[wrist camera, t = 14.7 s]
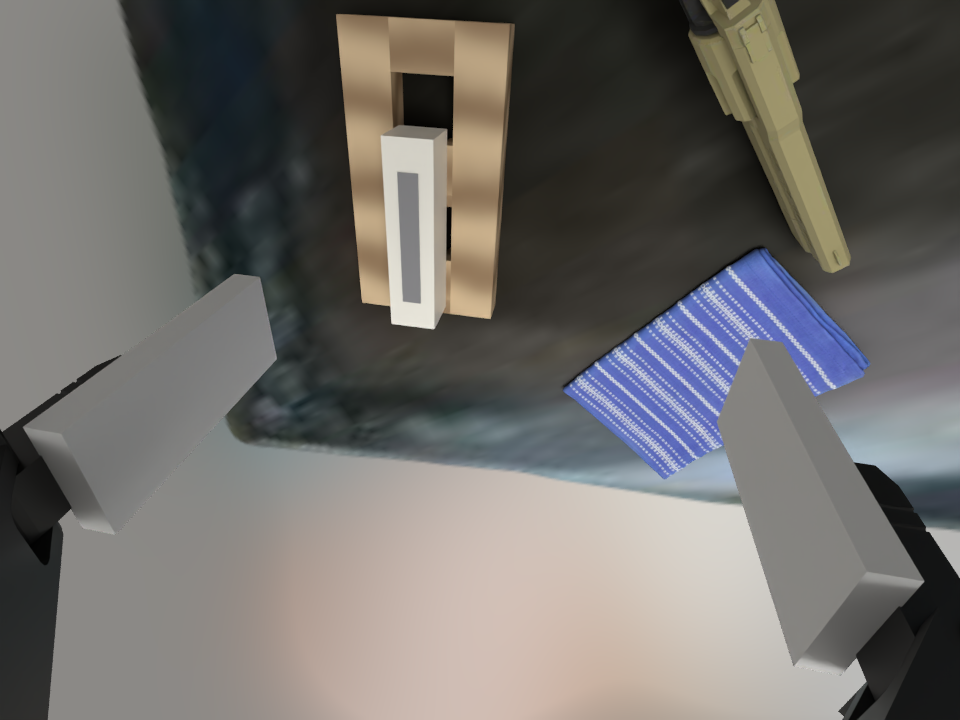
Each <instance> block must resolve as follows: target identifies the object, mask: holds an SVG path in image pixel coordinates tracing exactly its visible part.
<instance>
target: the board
mask: <svg viewBox="0 0 960 720" xmlns="http://www.w3.org/2000/svg"><path fill="white" fill-rule="evenodd" d="M336 18H337V29H338V40H339V51H340V63H341V74H342V85H343V96H344V107H345V118H346V129H347V140H348V151H349V162H350V173H351V184H352V195H353V206H354V218H355V229H356V240H357V251H358V262H359V273H360V284H361V295H362V303H370V304H378V305H386V306H391V304H390V287H389V270H388V253H387V236H386V219H385V202H384V185H383V168H382V151H381V135H382V134H384V133H386V132H388V131H389V130H391V129H393V128H395V127H396V126H398V125H404V112H403V82H402V73H416V74H430V75H444V76H454V107H453V138H450V139H448V140H447V207H452V229H451V248H449V249H448V250H447V252H446V307H445V309H444V311H443V313H448V314H456V315H464V316H472V317H480V318H488V319H491V316H492V312H493V309H494V306H495V298H496V284H497V270H498V256H499V242H500V227H501V213H502V199H503V185H504V171H505V157H506V142H507V128H508V114H509V100H510V86H511V72H512V57H513V43H514V29H515V24H508V23H491V22H474V21H457V20H440V19H423V18H406V17H389V16H372V15H355V14H336Z"/></svg>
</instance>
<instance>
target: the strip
mask: <svg viewBox="0 0 960 720" xmlns="http://www.w3.org/2000/svg"><path fill="white" fill-rule="evenodd" d="M381 151H382V168H383V185H384V202H385V219H386V236H387V253H388V270H389V287H390V304H391V321H392V324H398V325H405V326H413V327H421V328H429V329H435V327H436V325H437V323H438V321H439V319H440V317H441V315H442V313H443V311H444V309H445V307H446V225H447V129H442V128H429V127H417V126H405V125H398V126H396V127H395V128H393V129H391V130H389V131H388V132H386V133H384V134H382V135H381Z"/></svg>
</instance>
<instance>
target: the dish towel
mask: <svg viewBox="0 0 960 720" xmlns="http://www.w3.org/2000/svg"><path fill="white" fill-rule="evenodd" d="M750 338H753V339H761V340H769V341H777V342H783V344H784V346H785V347H786V349H787V351H788V353H789V354H790V356H791V358H792V359H793V361H794V363H795V364H796V366H797V368H798V369H799V371H800V373H801V374H802V376H803V378H804V379H805V381H806V383H807V384H808V386H809V388H810V390H811V391H812V393H813V395H814V396H815V397H816V396H818V395H820V394H822V393H824V392H826V391H829V390H833V389H836V388H838V387H840V386H843V385H845V384H848V383H850V382H852V381H854V380H856V379H859V378H861V377H863V376H864V374H865V373H864V371H863V370H864V369H866V368H867V367H869V365H870V362H869V361H868V359H867V358H866V357H865V356H864V355H863V354H862V352H861V351H860V350H859V349H858V348H857V346H856V345H855V344H854V343H853V341H852V340H851V339H850V338H849V337H848V335H847V334H846V333H845V332H844V331H843V330H842V329H841V328H840V327H839V326H838V325H837V324H836V323H835V322H834V321H833V320H832V319H831V318H830V317H829V316H828V315H827V314H826V313H825V312H824V311H823V309H822V308H821V307H820V306H819V305H818V304H817V303H816V301H815V300H814V299H813V298H812V297H811V296H810V295H809V294H808V293H807V291H805V290H804V289H803V287H801V286H800V285H799V284H798V283H797V281H796V280H795V279H793V278H792V277H791V276H790V275H789V273H788V272H787V271H786V270H785V269H784V268H783V267H782V266H781V265H780V264H779V263H778V262H777V261H776V259H774V258H773V257H772V256H771V254H770V253H769V252H768V250H767V249H766V248H761V249H755V250H753V251H752V252H750V253H749V254H747V255H746V256H744V257H743V258H741V259H740V260H738V261H737V262H735V263H734V264H732V265H729V266H728V267H726V268H725V269H724V270H722V271H721V272H720V273H718V274H717V275H715V276H713V277H712V278H711V279H710V280H708V281H706V282H705V283H703V284H702V285H700V286H699V287H698V288H696V289H695V290H694V291H691V292H690V293H689V294H688V295H687V296H686V297H684V298H683V299H681V300H679V301H678V302H677V303H676V304H675V305H674V306H673V307H671V308H670V309H668V310H666V311H665V312H664V313H663V314H661V315H659V316H658V317H657V318H655V319H654V320H653V321H652V322H650V323H649V324H647V325H646V326H645V327H644V328H642V329H641V330H639V331H637V332H636V333H634V334H633V335H632V336H631V337H630V338H629V339H627V340H626V341H624V342H623V343H622V344H619V345H618V346H617V347H615V348H614V349H612V350H611V351H610V352H609V353H607V354H605V355H604V356H603V357H602V358H601V359H599V360H597V361H596V362H595V363H594V364H593V365H592V366H590V367H589V368H587V369H586V370H585V371H584V372H582V373H581V374H580V375H578V376H577V377H576V378H575V379H574V380H573V381H572V382H570V383H569V384H568V385H567V386H566V387H565V388H564V389H563V391H564V392H565V393H566V394H567V395H569V396H570V397H572V398H574V399H575V400H576V401H577V402H578V403H579V404H580V405H581V406H582V407H584V408H585V409H586V410H587V411H589V412H590V413H591V414H592V415H593V416H594V417H595V418H597V419H598V420H599V421H600V422H601V423H602V424H604V425H605V426H606V427H607V428H608V429H609V430H610V431H612V432H613V433H614V434H615V435H616V436H617V437H619V438H620V439H621V440H622V441H623V442H625V443H626V444H627V445H628V446H629V447H630V448H631V449H632V450H633V451H634V452H636V453H637V454H638V455H639V456H640V457H641V458H642V459H643V460H644V461H645V462H646V463H647V464H648V465H649V466H650V467H651V468H653V469H654V470H655V471H656V472H657V473H658V474H659V475H660V476H661V477H662V478H663V479H667V478H668V477H669V476H671V475H672V474H674V473H676V472H678V471H680V470H682V469H683V468H684V467H685V466H687V465H688V464H689V463H691V462H692V461H694V460H696V459H698V458H700V457H702V456H703V455H705V454H706V453H709V452H710V451H712V450H714V449H717V448H719V447H721V446H723V445H724V443H723V440H722V437H721V434H720V431H719V428H718V424H717V420H718V418H719V415H720V413H721V410H722V408H723V405H724V403H725V400H726V398H727V395H728V393H729V390H730V388H731V385H732V382H733V380H734V377H735V375H736V372H737V370H738V367H739V365H740V362H741V360H742V357H743V355H744V352H745V350H746V347H747V345H748V342H749V340H750Z"/></svg>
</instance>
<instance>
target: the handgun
mask: <svg viewBox="0 0 960 720" xmlns="http://www.w3.org/2000/svg"><path fill="white" fill-rule="evenodd" d="M679 2H680V4H681V6H682V8H683V10H684V12H685V14H686V16H687V18H688V20H689V22H690V24H689V27H690V31H689V34H688V36H689V38H690V40H691V42H692V45H693V47H694V49H695V51H696V53H697V56H698V58H699V60H700V62H701V65H702V67H703V69H704V71H705V73H706V75H707V77H708V79H709V82H710V84H711V86H712V88H713V90H714V92H715V94H716V96H717V98H718V100H719V103H720V105H721V107H722V109H723V111H724V113H725V114H726V115H728V114H731V113H733V115H734V117H735V119H736V120H737V121H742V123H743V125H744V128H745V130H746V132H747V134H748V136H749V139H750V141H751V143H752V145H753V147H754V150H755V152H756V154H757V156H758V158H759V161H760V163H761V165H762V167H763V169H764V172H765V174H766V176H767V178H768V180H769V183H770V185H771V187H772V189H773V191H774V194H775V196H776V199H777V201H778V203H779V205H780V207H781V210H782V212H783V214H784V216H785V218H786V221H787V223H788V225H789V227H790V229H791V232H792V234H793V235H794V237H795V238H796V239H797V241H798V242H799V243H800V245H801V246H802V247H803V249H804V250H805V251H806V252H809V253H812V255H813V257H814V258H815V259H816V260H818V262H819V263H820V265H821V268H822V269H823V270H824V271H826V272H830V273H834V272H836V271H838V270H840V269H842V268H844V267H846V266H848V265H849V264H850V259H851V256H850V254H849V251H848V248H847V245H846V242H845V239H844V237H843V234H842V231H841V228H840V225H839V223H838V220H837V217H836V214H835V211H834V209H833V206H832V203H831V200H830V197H829V194H828V192H827V189H826V186H825V183H824V180H823V178H822V175H821V172H820V169H819V166H818V164H817V161H816V158H815V155H814V152H813V149H812V147H811V144H810V141H809V138H808V135H807V133H806V130H805V127H804V124H803V121H802V109H801V106H800V103H799V100H798V98H797V95H796V92H795V89H794V86H793V83H794V82H795V81H797V80H798V79H799V76H800V74H799V71H798V68H797V65H796V62H795V59H794V56H793V53H792V50H791V47H790V45H789V42H788V39H787V36H786V33H785V30H784V27H783V24H782V21H781V18H780V15H779V12H778V9H777V6H776V3H775V0H679Z"/></svg>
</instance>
